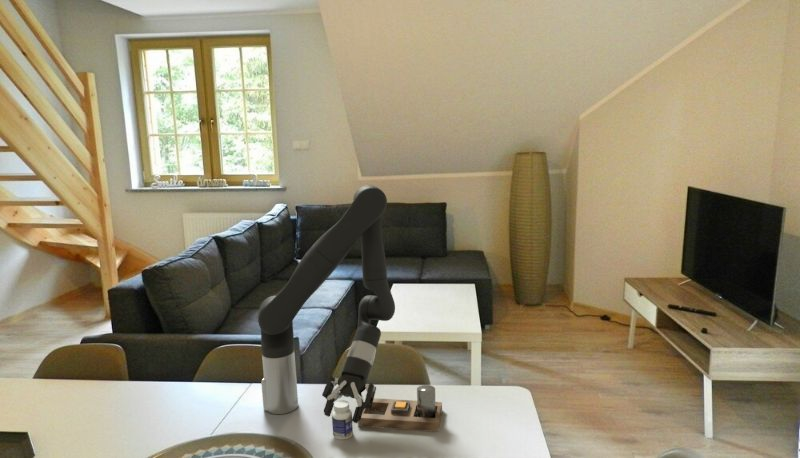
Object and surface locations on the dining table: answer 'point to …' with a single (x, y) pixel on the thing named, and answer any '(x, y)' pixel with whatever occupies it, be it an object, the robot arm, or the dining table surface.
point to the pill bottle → (342, 420)
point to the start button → (400, 405)
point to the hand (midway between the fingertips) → (340, 418)
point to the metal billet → (426, 401)
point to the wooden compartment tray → (399, 416)
